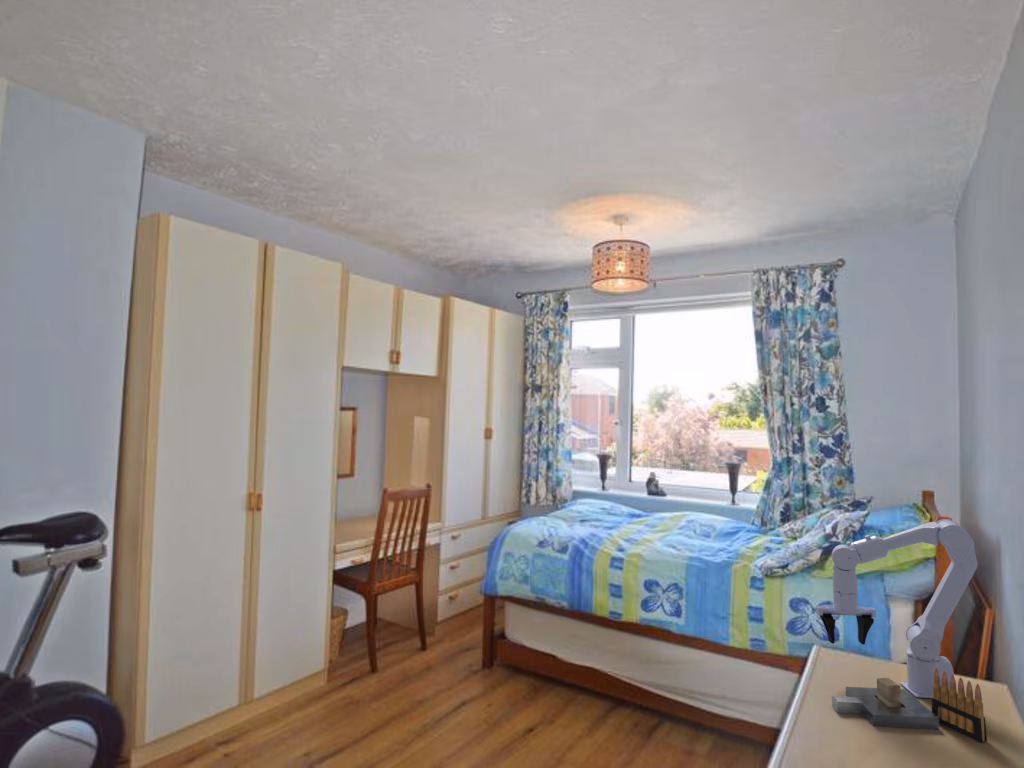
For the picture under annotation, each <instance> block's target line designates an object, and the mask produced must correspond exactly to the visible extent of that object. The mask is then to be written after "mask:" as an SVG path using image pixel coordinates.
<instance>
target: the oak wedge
mask: <svg viewBox="0 0 1024 768" xmlns="http://www.w3.org/2000/svg"><path fill="white" fill-rule="evenodd" d="M876 688H877V699H878V700H879V701H880V702H881V703H882V704H883V705H884V706H885V707H901V689H902V688H901V684H900V683H897V682H896V681H894V680H893V679H891V678H889V677H877V678H876Z"/></svg>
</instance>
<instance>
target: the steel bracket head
mask: <svg viewBox="0 0 1024 768" xmlns="http://www.w3.org/2000/svg"><path fill="white" fill-rule="evenodd" d="M900 689H901V707H885V706H884V705H883V704H882V703H881V702H880V701H879V700H878V699H877V687H866V686H865V687H862V686H845V695H844V696H843V695H842V696H841V695H840V696H839V695H831V707H832V708H833V709H834V711H835V712H836V713H839V714H859V715H862V716H863V717H865V719H866V720H867V721H868V722H869V723H870V724H871V726H873V727H889V728H890V727H891V728H906V729H907V728H908V729H925V730H926V729H927V730H930V729H931V730H939V729H940V724H939V718H938V717H937V716H936V715H935V714H934V713H933V712H932V710H930V709H929V708H928V707H926V705H924V704H923V702H921V701H920V700H919V699H917V697H915V696H914V695H913V694H912V693H911V692H910V691H908V690H907V689H906V688H900Z"/></svg>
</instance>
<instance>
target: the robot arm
mask: <svg viewBox="0 0 1024 768" xmlns="http://www.w3.org/2000/svg"><path fill="white" fill-rule="evenodd" d="M938 542H939V543H940V544H941V545H942V546H943V547H944V548H945V551H946V553H947V555H948V557H949V559H950V562H949V566H948V567H947V569H946V571H945V573H944V574H943V577H942V578H941V580H940V582H939V583H938V586H937V587H936V589H935V591H934V593H933V595H932V597H931V599H930V600H929V602H928V604H927V606H926V608H925V610H924V612H923V614H921V615H920V616H918V617H917V619H916V621H914V623H912V624H910V625H909V626H908V627H907V628H906V630H905V637H906V640H907V641H908V643H909V646H908V648H907V649H906V650H905V651H906V652H905V653H906V678H907V679H906V680H907V681H900V682H899V685H900V686H902V687H903V688H904V689H906V690H907V691H908V692H909V693H910V694H911V695H913V696H914V697H915V698H920V699H932V698H933V680H934V671H935V668H937V670H938V672H939V677H940V685H941V683H942V674H943V672H944V671H945V673H946V675H947V680H948V688H949V690H950V677H951V675H952V674H953V675H954V674H955V673H954V668H953V664H952V663H951V661H950V660H949V659H948V657H946V656H943V655H941V642H942V641H943V638H944V632H945V627H946V625H947V624H948V622H949V620H950V618H951V616H952V614H953V613H954V611H955V609H956V607H957V606H958V604H959V602H960V600H961V598H962V596H963V594H964V592H965V591H966V589H967V587H968V585H969V583H970V581H971V579H972V578H973V576H974V574H975V573H976V570H977V568H978V559H977V554H976V550H975V549H976V548H975V541H974V540H973V538H972V537H971V535H970V534H969V532H968V531H967V530H966V529H965V528H964V527H962V526H961V525H959V523H958V522H957V521H954V520H952V519H947V518H946V519H945V518H943V519H939V520H938V521H930V522H929V521H928V522H927V523H923V524H920V525H916V526H915V527H911V528H908V529H904V530H903V531H901V532H897V533H895V534H892V535H889V536H885V537H880V536H877V535H870V534H867V535H864V538H862V539H859V540H856V541H853V542H851V541H850V540H849V541H847V542H846V544H838V545H836V546H835V547H834V548H833V549H832V551H831V559H832V562H833V565H832V570H833V571H832V593H833V595H832V596H833V604H827V605H816V606H815V613H816V614H817V615H818V616H819V618H820V619H821V621H822V624H823V625H824V628H825V631H826V634H827V639H828V642H830V643H831V644H835V643H836V642H835V639H836V637H835V626H836V621H837V620H836V619H835V618H834V616H855V617H856V624H857V639H858V640H857V641H858V642H859V643H860V644H861V645H862V646H863V645H864V646H865V644H866V639H867V636H868V633H869V631H870V629H871V627H872V626H873V625H874V624H875V623H874V622H875V619H874V618H876V617H877V610H876V609H875V608H874V607H869V606H860V605H858V602H859V600H858V577H857V576H858V575H857V574H856V572H857V571H856V567H857V565H858V564H859V565H862V564H867V563H870V562H873V561H876V560H879V559H883V558H886V557H887V556H888V553H889V552H890V551H892V550H896V549H899V548H904V547H908V546H912V545H916V544H921V543H925V544H929V545H933V546H938ZM954 676H955V675H954Z"/></svg>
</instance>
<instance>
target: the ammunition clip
mask: <svg viewBox="0 0 1024 768" xmlns="http://www.w3.org/2000/svg"><path fill="white" fill-rule="evenodd" d="M963 680H964V679H962V677H959V678H958V682H957V681H956V677H955V675H953V674H952V675H951V677H950V690H949V688H948V680H947V675H946V673H945V671H944V672H943V674H942V683H941V685H940V677H939V672H938V670H937V668H935V671H934V680H933V698H931V712H933V713H934V714H935V715H936V716H937V717H938V718H939V725H941V726H943V727H946V728H948V729H950V730H952V731H953V732H954V731H955V732H957V733H958V734H961V735H963V736H965V737H967V738H969V739H971V740H973V741H976V742H978V743H980V744H981V743H982V744H983V743H987V742H988V736H987V726H986V725H987V724H986V716H984V703H983V698H982V691H981V690H982V689H981V688H980V685H979V684H978V683H976V685H975V689H974V691H973V686H972V683H971V680H967V682H966V683H967V684H966V688H965V685H964V681H963Z"/></svg>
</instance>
